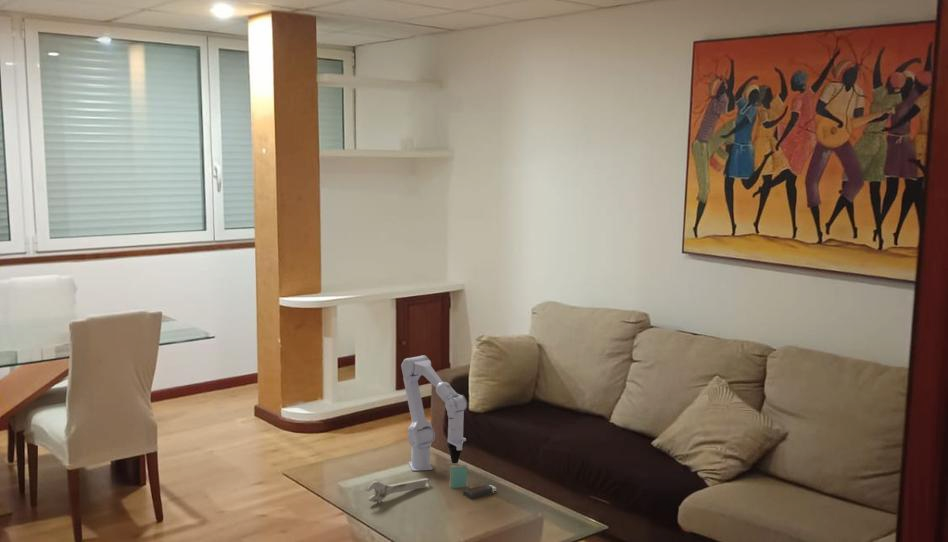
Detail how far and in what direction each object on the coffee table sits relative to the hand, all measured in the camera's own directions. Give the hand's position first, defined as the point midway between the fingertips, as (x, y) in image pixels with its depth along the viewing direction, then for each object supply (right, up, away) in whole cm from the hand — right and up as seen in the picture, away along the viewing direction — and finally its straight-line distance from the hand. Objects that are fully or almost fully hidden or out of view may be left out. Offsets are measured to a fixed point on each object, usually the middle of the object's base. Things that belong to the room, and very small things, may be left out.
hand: (454, 462), depth 308 cm
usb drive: (+10, -9, -11) cm, 18 cm away
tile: (+1, -4, -6) cm, 7 cm away
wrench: (-20, -9, -15) cm, 26 cm away
